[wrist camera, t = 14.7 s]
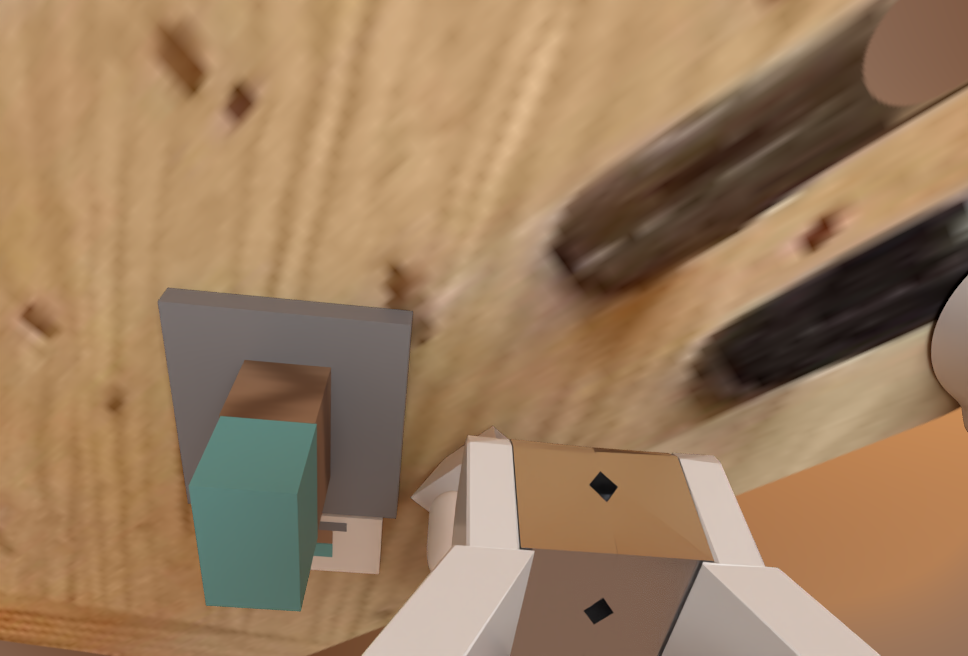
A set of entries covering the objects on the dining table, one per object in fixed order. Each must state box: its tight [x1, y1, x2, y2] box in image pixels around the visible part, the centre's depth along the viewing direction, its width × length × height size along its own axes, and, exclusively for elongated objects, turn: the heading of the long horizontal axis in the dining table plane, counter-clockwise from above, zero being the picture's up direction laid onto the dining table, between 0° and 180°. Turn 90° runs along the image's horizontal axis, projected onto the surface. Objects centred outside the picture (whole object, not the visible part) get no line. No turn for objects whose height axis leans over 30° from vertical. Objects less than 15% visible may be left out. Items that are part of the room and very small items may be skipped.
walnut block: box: [219, 360, 331, 528], centre depth 42 cm, size 5×9×5 cm, turn 173°
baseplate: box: [158, 288, 413, 519], centre depth 45 cm, size 14×16×2 cm
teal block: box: [189, 416, 318, 611], centre depth 38 cm, size 5×9×5 cm, turn 173°
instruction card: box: [310, 513, 383, 574], centre depth 52 cm, size 12×6×1 cm, turn 83°
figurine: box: [410, 426, 510, 571], centre depth 42 cm, size 7×9×15 cm
